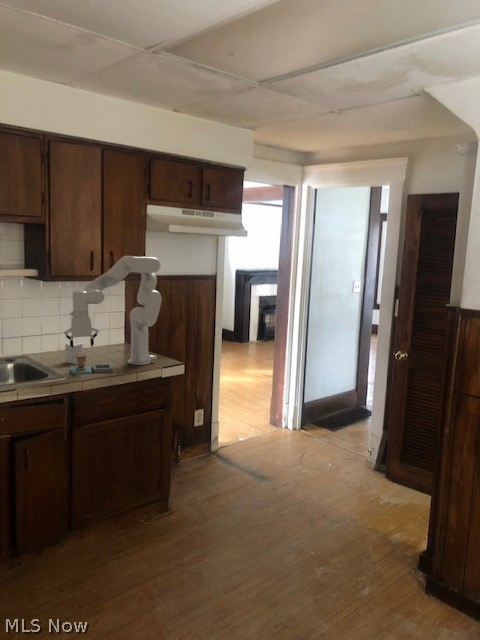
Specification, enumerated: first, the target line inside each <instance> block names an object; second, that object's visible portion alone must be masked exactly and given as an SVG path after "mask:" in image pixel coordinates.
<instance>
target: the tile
mask: <svg viewBox="0 0 480 640" xmlns="http://www.w3.org/2000/svg"><path fill="white" fill-rule="evenodd" d="M76 367H77V366H76ZM76 367H73V366H72V367H70V369H69V371H70V372H71V375H80V374H81V375H82V374H83V375H85V374H86V375H87V374H93V373H92V372H93V370H92V367H91V366H85V367H86V370H83V371H78V370H76Z"/></svg>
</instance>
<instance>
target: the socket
mask: <svg viewBox="0 0 480 640" xmlns="http://www.w3.org/2000/svg"><path fill="white" fill-rule="evenodd" d="M91 370H92V372H93V374H101V373H102V374H103V373H104V374H105V373H114V372H115V371H114V367H113V365H112V363H103V364H102V363H100V364H99V363H98V364H91Z"/></svg>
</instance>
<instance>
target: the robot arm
mask: <svg viewBox="0 0 480 640" xmlns="http://www.w3.org/2000/svg"><path fill="white" fill-rule="evenodd" d="M160 268H161V262H160V260H159V259H158V258H156V257H153V256H142V255H141V256H133V255H124V256H122V257H121V258H120V259H119V260H118V261H117V262H116V263H115V264H114V265H112V267H111V268H110V269H108V270H107V271H106V272H105V273H103V274H101V275H100V276H98V277H97V278H96V277H95V279H94V280H92V281H91V282H90V283H89V284H88V285H86V287H85V288H84V289H83V290H82V289H81V290H80V289H79V290H73V291H72V311H71V312H70V316H72V317H71V323H70V328H69V329H67V330H65V331H63V333H64V336H65V337H66V339H68V340H69V343H70V346H72V348H73V343H74V338H82V337H83V338H84V337H90V347H91V348H92V347H93V346H94V345H95V342H94V341H95V340H94V339H95V338H96V337H97V336H98V333H99V332H100V331H99V329H97V328H95V327H93V325H92V320H91V319H92V318H91V316H89V305H99V304H102V302H103V301H104V300H105V293H103V292H102V291H104V290H105V289H107V288H109V287H113V286H117V285H118V284H120V282H122V281H123V280H124V279H125V278H126V277H127V276H128V274H129V275H130V273H139V274H140V275H141V276H140V277H141V279H140V280H141V281H140V285H139V288H138V292H137V295H136V296H137V297H136V301H137V303H138V304H140V305H141V307H140V306H137V307H133V308H132V309H131V310H130V313H129V321H130V358H129V359H128V361H127V362H128V364H129V365H137V366H140V365H141V366H143V365H149V364H151V363H152V362H151V361H152V360H156V359H157V355H152V354H151V355H150V354H149V327H152V326H153V325H155V323H156V322H157V320H158V317H159V313H160V309H161V306H162V302H163V301H162V300H163V299H162V295H161V292H159V291H158V290H156V287H157V284H158V283H157V280H158V279H157V272H159V271H160ZM142 306H144V307H142ZM93 332H95V333H94V334H93ZM69 333H71V335H69Z"/></svg>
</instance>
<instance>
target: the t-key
mask: <svg viewBox="0 0 480 640" xmlns="http://www.w3.org/2000/svg"><path fill="white" fill-rule="evenodd" d="M76 358H77V361H78V364H77V366H76V370H78V371H83V370H86V367H87V366H85V363H86V362H87V356H86V353H85V352H83V353H76Z"/></svg>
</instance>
